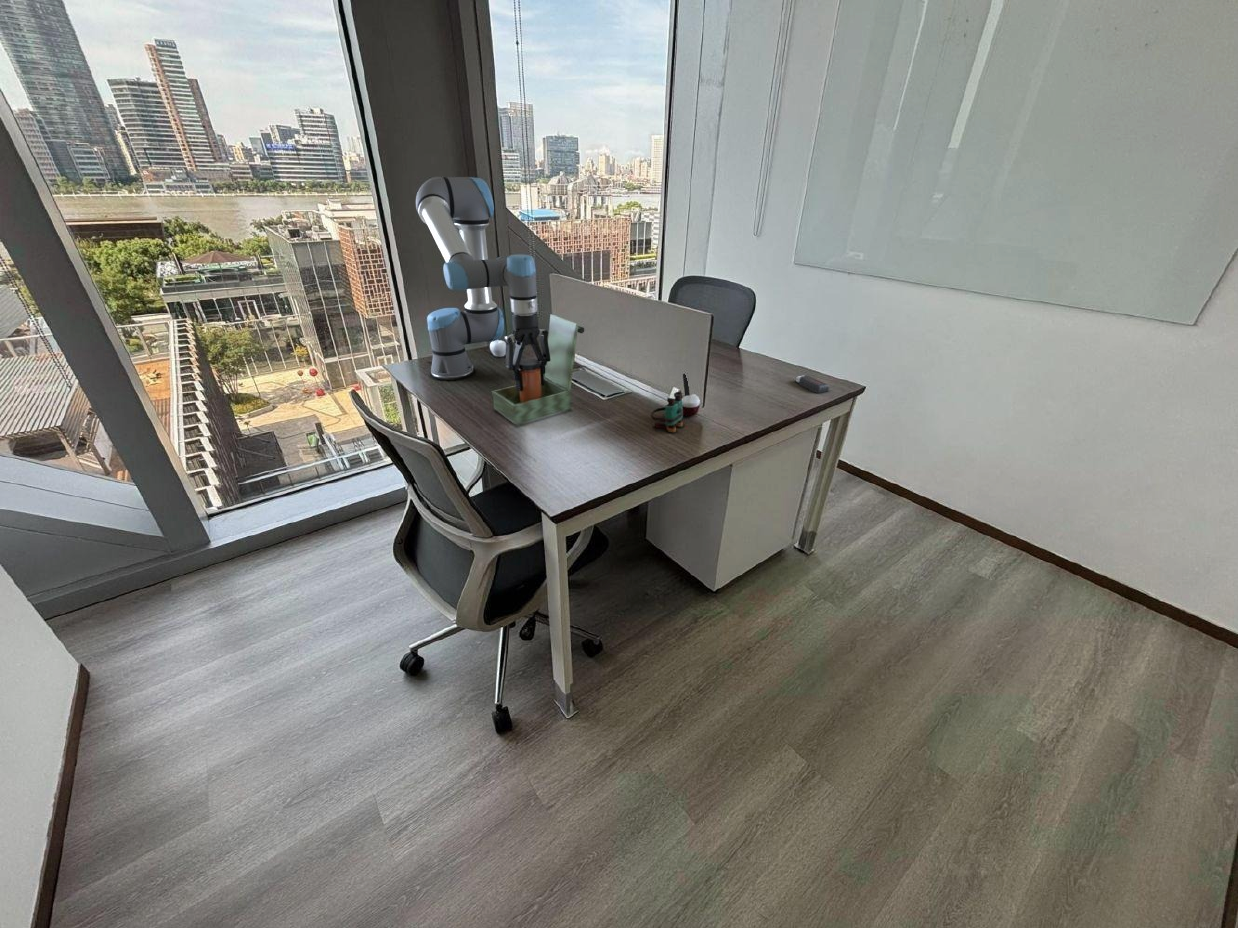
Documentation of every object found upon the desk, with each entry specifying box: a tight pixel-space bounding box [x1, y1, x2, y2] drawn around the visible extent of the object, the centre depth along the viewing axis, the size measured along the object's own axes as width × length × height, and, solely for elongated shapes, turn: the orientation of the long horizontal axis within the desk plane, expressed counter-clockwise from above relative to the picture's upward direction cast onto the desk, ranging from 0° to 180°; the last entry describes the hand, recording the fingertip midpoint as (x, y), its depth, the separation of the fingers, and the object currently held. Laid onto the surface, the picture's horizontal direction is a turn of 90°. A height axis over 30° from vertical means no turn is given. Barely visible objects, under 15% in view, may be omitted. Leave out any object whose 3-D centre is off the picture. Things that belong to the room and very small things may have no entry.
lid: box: [544, 313, 585, 391], centre depth 157 cm, size 20×15×6 cm
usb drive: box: [795, 375, 830, 394], centre depth 179 cm, size 5×12×3 cm, turn 25°
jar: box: [519, 357, 542, 403], centre depth 153 cm, size 7×7×13 cm
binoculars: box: [650, 391, 684, 433], centre depth 147 cm, size 9×11×10 cm
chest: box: [491, 377, 571, 425], centre depth 156 cm, size 20×15×7 cm
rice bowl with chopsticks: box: [681, 373, 701, 418], centre depth 154 cm, size 10×6×12 cm, turn 173°
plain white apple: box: [489, 339, 506, 358], centre depth 203 cm, size 7×7×8 cm
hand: (530, 386), depth 154 cm, fingers closed on jar, 7 cm apart
